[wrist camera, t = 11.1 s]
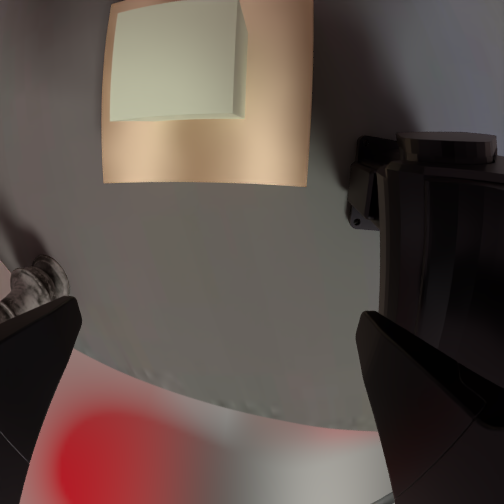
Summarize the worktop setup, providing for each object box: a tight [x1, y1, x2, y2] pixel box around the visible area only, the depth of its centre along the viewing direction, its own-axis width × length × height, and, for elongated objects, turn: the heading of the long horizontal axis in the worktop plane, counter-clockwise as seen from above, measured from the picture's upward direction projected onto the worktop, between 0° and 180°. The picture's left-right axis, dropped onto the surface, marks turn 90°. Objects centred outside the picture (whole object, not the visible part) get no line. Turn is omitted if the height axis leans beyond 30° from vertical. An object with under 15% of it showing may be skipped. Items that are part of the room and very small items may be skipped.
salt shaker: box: [0, 255, 70, 323], centre depth 19 cm, size 6×6×12 cm
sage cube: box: [110, 0, 248, 122], centre depth 11 cm, size 5×5×5 cm
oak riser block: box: [102, 0, 313, 187], centre depth 15 cm, size 12×12×4 cm
